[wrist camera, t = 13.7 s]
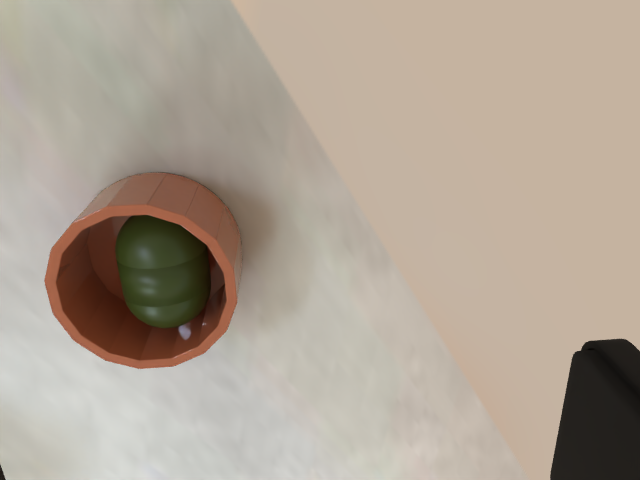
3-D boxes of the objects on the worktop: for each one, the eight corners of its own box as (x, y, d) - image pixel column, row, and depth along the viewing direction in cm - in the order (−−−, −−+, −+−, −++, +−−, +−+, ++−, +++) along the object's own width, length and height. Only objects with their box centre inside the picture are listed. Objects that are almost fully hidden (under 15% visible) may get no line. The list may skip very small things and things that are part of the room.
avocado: (107, 200, 33) (107, 230, 28) (195, 188, 34) (208, 216, 30) (129, 309, 36) (131, 353, 31) (208, 294, 37) (222, 334, 33)
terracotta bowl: (66, 176, 33) (25, 210, 28) (234, 168, 34) (226, 199, 28) (98, 319, 37) (68, 374, 32) (248, 310, 38) (243, 362, 32)
